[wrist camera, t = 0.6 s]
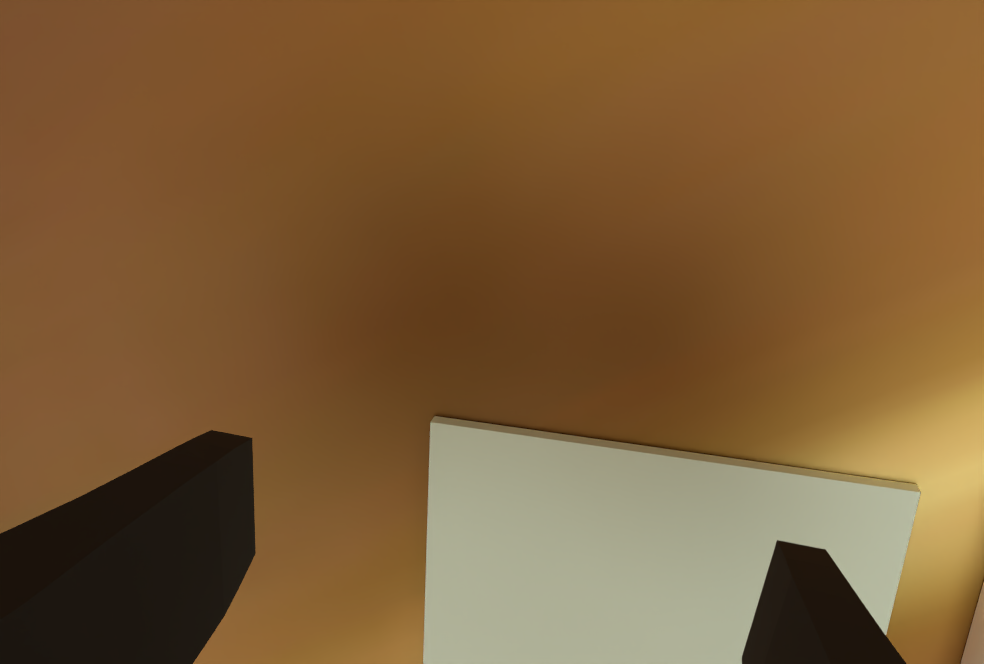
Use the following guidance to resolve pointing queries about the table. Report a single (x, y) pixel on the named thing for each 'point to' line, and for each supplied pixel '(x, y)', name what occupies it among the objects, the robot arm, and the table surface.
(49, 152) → the table surface
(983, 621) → the white bin
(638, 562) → the sage tile
